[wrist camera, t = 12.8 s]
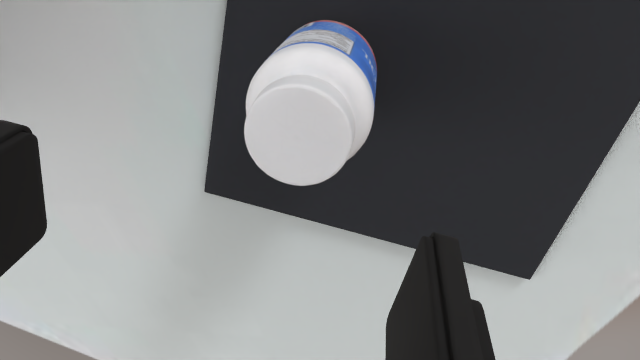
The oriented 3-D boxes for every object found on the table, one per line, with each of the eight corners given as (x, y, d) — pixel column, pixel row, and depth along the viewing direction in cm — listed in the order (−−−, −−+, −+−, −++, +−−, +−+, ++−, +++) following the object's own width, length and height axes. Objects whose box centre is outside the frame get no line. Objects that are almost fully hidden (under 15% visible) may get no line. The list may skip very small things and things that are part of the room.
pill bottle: (370, 122, 26) (360, 215, 18) (277, 109, 27) (224, 195, 18) (385, 22, 24) (382, 77, 15) (282, 10, 24) (222, 57, 16)
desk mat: (206, 188, 31) (204, 191, 30) (245, -131, 22) (242, -132, 21) (528, 276, 30) (530, 280, 30) (702, -9, 21) (707, -8, 21)
